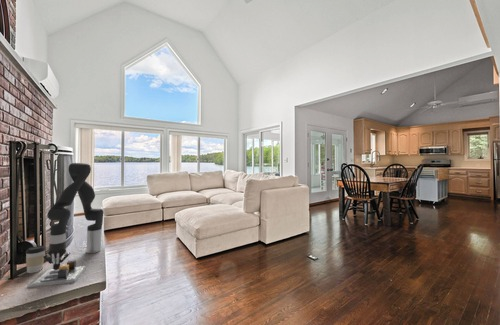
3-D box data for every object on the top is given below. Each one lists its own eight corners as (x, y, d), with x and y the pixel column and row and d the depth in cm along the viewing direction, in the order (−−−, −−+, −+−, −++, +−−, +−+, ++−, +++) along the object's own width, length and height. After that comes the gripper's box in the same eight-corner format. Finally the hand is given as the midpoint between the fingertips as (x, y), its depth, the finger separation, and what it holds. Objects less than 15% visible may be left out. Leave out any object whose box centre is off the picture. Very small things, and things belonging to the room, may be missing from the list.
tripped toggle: (60, 272, 132) (61, 264, 132) (68, 271, 133) (69, 263, 133) (58, 274, 130) (59, 266, 130) (66, 273, 131) (67, 265, 131)
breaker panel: (44, 272, 135) (44, 262, 135) (85, 268, 142) (86, 258, 142) (27, 287, 120) (27, 275, 119) (74, 282, 127) (75, 270, 127)
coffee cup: (46, 269, 139) (48, 246, 139) (27, 275, 131) (28, 251, 131) (41, 265, 143) (42, 243, 143) (22, 271, 135) (23, 247, 135)
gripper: (73, 238, 136) (72, 265, 136) (47, 239, 132) (46, 267, 132) (68, 242, 129) (66, 271, 129) (40, 244, 125) (38, 273, 125)
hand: (56, 269), depth 130 cm, fingers closed
